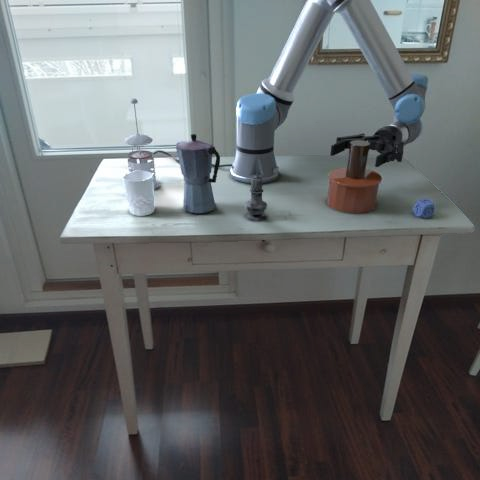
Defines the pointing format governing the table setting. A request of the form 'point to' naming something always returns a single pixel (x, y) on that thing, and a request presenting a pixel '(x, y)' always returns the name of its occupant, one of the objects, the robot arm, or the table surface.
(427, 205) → the decorative dice
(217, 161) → the moka pot
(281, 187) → the table surface
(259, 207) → the salt shaker
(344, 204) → the pot
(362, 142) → the lid
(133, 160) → the french press
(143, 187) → the white cup
